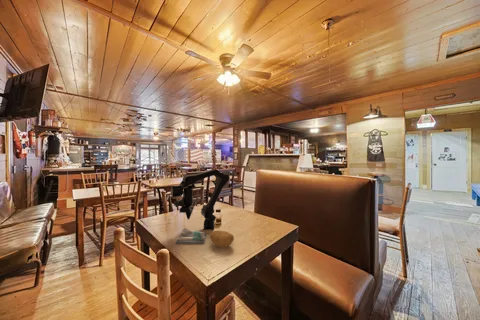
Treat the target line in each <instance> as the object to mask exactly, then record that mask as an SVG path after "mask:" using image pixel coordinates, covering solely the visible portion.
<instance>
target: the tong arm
mask: <svg viewBox="0 0 480 320" xmlns="http://www.w3.org/2000/svg"><path fill="white" fill-rule="evenodd" d="M181 234H191V235H195V236H199V237H204V234H206V233H205V231H198V230H193V229H189V228H186V227H185V228H182V229H181Z"/></svg>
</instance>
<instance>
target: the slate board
mask: <svg viewBox="0 0 480 320" xmlns="http://www.w3.org/2000/svg"><path fill="white" fill-rule="evenodd" d="M207 236H208V233H204V237H199V236H195V235H191V234H187V233H180V235H179V236H177V238H176V241H175V242H174V243H175V245H204V244H205V243H206V240H207Z"/></svg>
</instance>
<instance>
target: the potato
mask: <svg viewBox="0 0 480 320" xmlns="http://www.w3.org/2000/svg"><path fill="white" fill-rule="evenodd" d="M209 237H210V242H211V243H212V244H213V245H214V246H215V247H217V248H225V249H226V248H228V247H230V246H232V244H233V242H234V240H235V239H234V238H235V237H234V235H233V233H230V232H228V231H224V230H214V231H212V232H211V233H210V235H209Z"/></svg>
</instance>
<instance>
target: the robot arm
mask: <svg viewBox="0 0 480 320" xmlns="http://www.w3.org/2000/svg"><path fill="white" fill-rule="evenodd" d="M213 176H214V177H215V178H217V179H216V184H215V187H214V190H213V191H212V193H211V195H210V198H209V200H208V201H207V203H206V204H203V206H202V208H201V210H200V213H201V216H203V218H204V221H203V230H212V231H213V230H215V221H216V219H217V217H216V216H215V214H214V211H215V209H214V208H215V205H216V202H217V201H218V198H219V197H220V195H221V194H220V193H221V192H222V190H223V188H224V187H225V186H226V185H227V184H228V182H229V181H230V176H229V175H228V174H227V173H223V172H221V171H219V170H218V169H216V168H215V169H214V168H213V169H209V170H206V171H203V172H199V173H195V174H186V175H184V176H183V177H182V181H180V183H179V184H178V185H171V188H170V196H171V198H176V197H182V196H183V197H182V198H181V199H177V200H175V201H174V202H173V206H174V207H175V208H178V207H179V206H181V207H180V208H179V213H183V214H185V216H186V218H187V220H190V218H191V216H192V214H193V211H194V209H195V206H197V200H195V199H194V197H195V196H194V188H195V189H196V188H197V186H196V184H195V183H197V182H198V181H199V180H200V181H201V180H203V179H206V178H210V177H213ZM193 205H194V206H193Z"/></svg>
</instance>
